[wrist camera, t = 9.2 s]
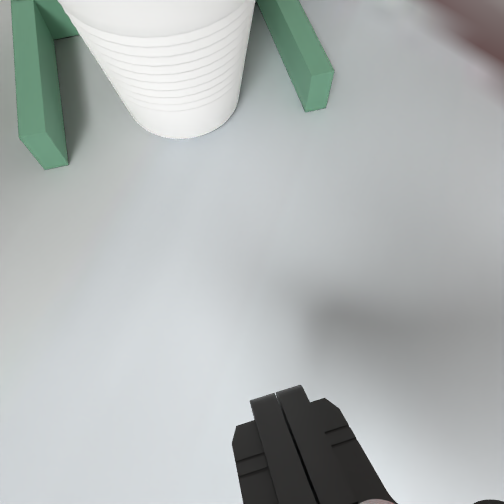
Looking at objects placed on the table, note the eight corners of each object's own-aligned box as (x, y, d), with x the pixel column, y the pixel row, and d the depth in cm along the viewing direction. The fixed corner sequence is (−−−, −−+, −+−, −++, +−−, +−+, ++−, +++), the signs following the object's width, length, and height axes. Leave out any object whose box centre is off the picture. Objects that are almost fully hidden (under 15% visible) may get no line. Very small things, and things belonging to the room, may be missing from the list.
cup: (195, 17, 25) (158, -257, 15) (308, 103, 22) (356, -165, 12) (60, 97, 22) (-95, -172, 12) (170, 208, 19) (85, -26, 9)
